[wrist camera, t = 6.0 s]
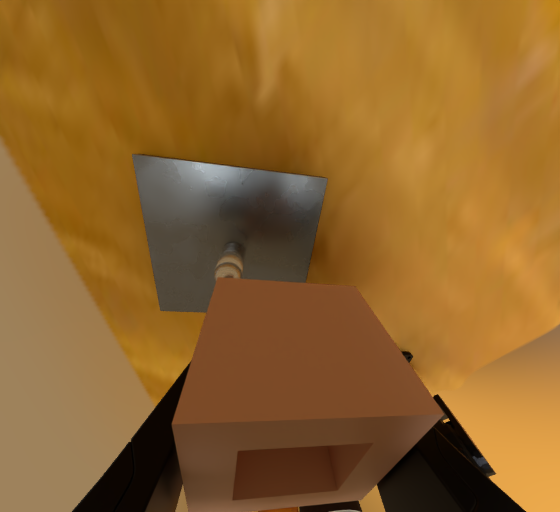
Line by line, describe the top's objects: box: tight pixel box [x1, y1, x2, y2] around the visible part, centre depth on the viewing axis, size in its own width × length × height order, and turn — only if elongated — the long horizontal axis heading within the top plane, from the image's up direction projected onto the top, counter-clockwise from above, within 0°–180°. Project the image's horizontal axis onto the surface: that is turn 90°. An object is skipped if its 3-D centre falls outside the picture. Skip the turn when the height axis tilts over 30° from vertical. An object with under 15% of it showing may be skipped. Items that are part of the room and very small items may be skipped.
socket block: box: [172, 277, 444, 512], centre depth 8 cm, size 6×6×5 cm
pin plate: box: [132, 154, 328, 312], centre depth 16 cm, size 14×14×6 cm
